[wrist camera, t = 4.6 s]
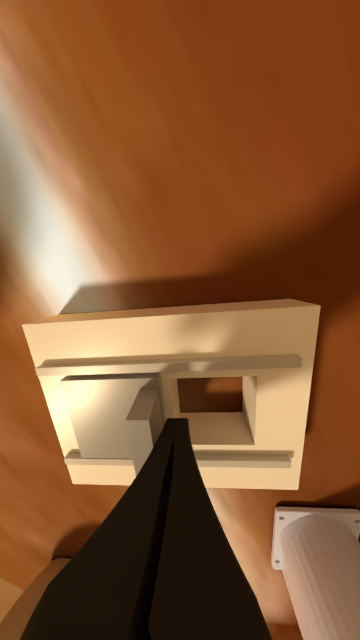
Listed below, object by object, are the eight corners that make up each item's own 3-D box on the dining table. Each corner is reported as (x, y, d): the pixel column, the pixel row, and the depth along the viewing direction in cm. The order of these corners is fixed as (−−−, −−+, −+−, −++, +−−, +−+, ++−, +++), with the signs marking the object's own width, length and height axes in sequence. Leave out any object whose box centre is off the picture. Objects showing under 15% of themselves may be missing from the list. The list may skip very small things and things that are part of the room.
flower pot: (24, 569, 24) (-45, 689, 17) (49, 533, 21) (-20, 657, 14) (86, 598, 24) (45, 725, 18) (117, 567, 22) (83, 701, 15)
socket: (278, 450, 15) (302, 498, 12) (93, 448, 17) (68, 491, 14) (289, 298, 12) (327, 307, 9) (58, 314, 14) (13, 326, 10)
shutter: (169, 450, 12) (162, 503, 10) (86, 450, 13) (56, 499, 10) (159, 372, 11) (147, 407, 8) (66, 375, 11) (23, 409, 9)
